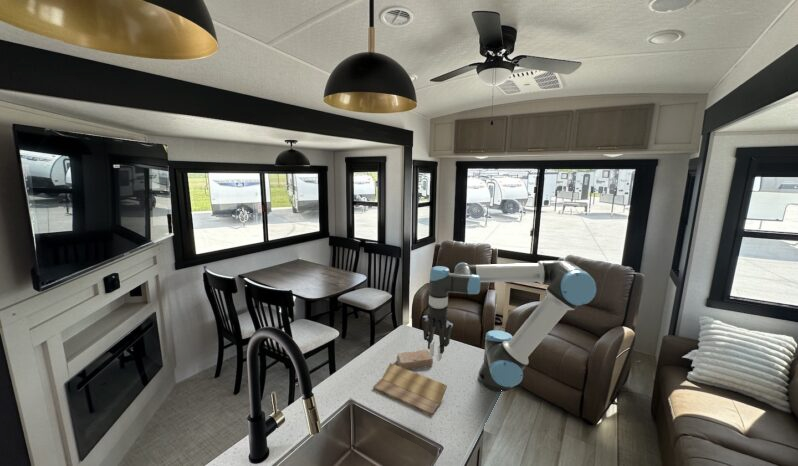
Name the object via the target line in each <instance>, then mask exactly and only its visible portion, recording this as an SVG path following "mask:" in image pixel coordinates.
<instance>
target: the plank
mask: <svg viewBox="0 0 798 466" xmlns="http://www.w3.org/2000/svg"><path fill="white" fill-rule="evenodd" d="M381 379H382V380H385V381H387V382H389V383H392V384H394V385H396V386H399V387H401V388H403V389H405V390H408V391H410V392H412V393H415V394H417V395H419V396H422V397H424V398H426V399H428V400H431V401H433V402H435V403H438V404H439V406H440V405H441V403H442V401H443V398H444V396H445V393H446V390H447V389H448V386H447V384H445V383H443V382H439V381H437V380H434V379H432V378H429V377H426V376H425V375H422V374H421V373H418V372H417V373H416V372H414V371H412V370H410V369H404V368H402V367H399V366H398V364H394V363H393V362H390V363H389V365H388V367H387V368H386V371H385V372H384V374H383V376H382V378H381Z"/></svg>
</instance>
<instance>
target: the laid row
mask: <svg viewBox="0 0 798 466" xmlns="http://www.w3.org/2000/svg"><path fill="white" fill-rule="evenodd" d="M372 389H373V390H375V391H377V392H379V393H381V394H383V395H386V396H387V397H390V398H391V399H394V400H396V401H398V402H401V403H403V404H404V405H407V406H409V407H410V408H414V409H416V410H418V411H419V412H422V413H424V414H426V415H428V416H431V417H433V416H434V415H435V413H436V411H438V408H439V407H440V405H439V404H438V403H435V402H433V401H431V400H428V399H426V398H424V397H422V396H419V395H417V394H415V393H412V392H410V391H408V390H405V389H403V388H401V387H399V386H396V385H394V384H392V383H389V382H387V381H385V380H382V378H381V379H379V380H378V381H377V382H376V383H375V384H374V385H373V386H372Z"/></svg>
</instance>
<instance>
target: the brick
mask: <svg viewBox="0 0 798 466" xmlns="http://www.w3.org/2000/svg"><path fill="white" fill-rule="evenodd" d="M429 353H430V350H429V349H421V350H416V351H404V352H401V353H399V352H398V353H397V356H396V364H397V366H399V367H402V368H404V369H407V370H410V369H411V370H412V369H420V368H427V367H432V366H433V364H434V360H433V359H434V358H433V357H432V358H429Z"/></svg>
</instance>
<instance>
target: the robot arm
mask: <svg viewBox="0 0 798 466" xmlns="http://www.w3.org/2000/svg"><path fill="white" fill-rule="evenodd" d="M531 282H532V283H536V282H537V283H538V284H539V285H548V286H547V287H546V289H545V291H546V296H545V297H544V298H543V299H542V300H541V301H540V303H539V304H538V305H537V306H536V307H535V309H534V310H533V311H532V313H531V314H530V315H529V317H528V318H526V320H525V321H524V322H523V324H521V326H520V328H518V330H517V331H515V334H513V335H512V334H511V333H509V332H506V331H503V330H499V329H498V330H497V329H493V330H489V331H488V332H486V333H485V337H484V339H485V341H484V350H483V351H484V352H483V353H484V354H483V362H482V364H481V366H480V369H479V371H478V381H479V382H480V383H481V385H482V386H483V387H485V388H487V389H489V390H491V391H495V392H507V391H510V390H511V389H513V387H515V386H518V385H519V384H520V383H521V382H522V381H523V378H524V372H523V370H525V368H526V367H527V366H528V364H529V361H530V360H529V356H531V354H532V353H533V352H534V350H535V349H536V348H537V347H538V346H539V345H540V344H541V342H542V341H543V340H545V338H546V336H547V335H548V334H549V333H550V332H551V331H552V329H553V328H554V327H555V326H556V325H557V324H558V322H559V321H560V320H561V319H562V318H563V316H564V315H565V314H567V312H568V311H575V310H576V309H577V307H578V306H583V305H587V304H589V303H590V302H591V301H593V300H594V298H595V296H596V293H597V283H596V281H595V279H594V278H593V277H592V276H591V275H590V273H588V272H587V271H585V269H582V268H580V267H579V266H578V265H576V264H575V263H574V262H572V261H568V260H538V261H537V263H503V264H502V263H499V264H498V263H497V264H496V263H495V264H469V263H466V262H459V263H457V264H456V265H455V267H454V271H453V272H450V269H449V268H448V267H447V266H443V265H441V266H440V265H436V266H433V267H431V269H430V273H429V288H428V289H429V290H428V291H429V293H428V312H427V313H428V314H426V315H424V316H422V317H421V321H422V328H423V329H422V330H423V340H424V341H427V350H429V358H433V357H434V356H435V340H434V335H435V331H436V330H435V329H436V328H437V331H438V339H439V340H438V341H439V344H438V346H437V361H438V362H440V361H441V360H442V359H443V353H445V347H447V346H449V344H450V341H451V333H452V328H453V326H454V325H455V324H454V323H453V322H450V321H449V320H448V319H449V318H448V304H449V303H448V302H449V293H454V294H456V293H457V294H464V295H465V294H467V295H478V294H479V293H480V292H481V283H531ZM429 323H430V325H429ZM445 325H446V330H445ZM501 390H502V391H501Z"/></svg>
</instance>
